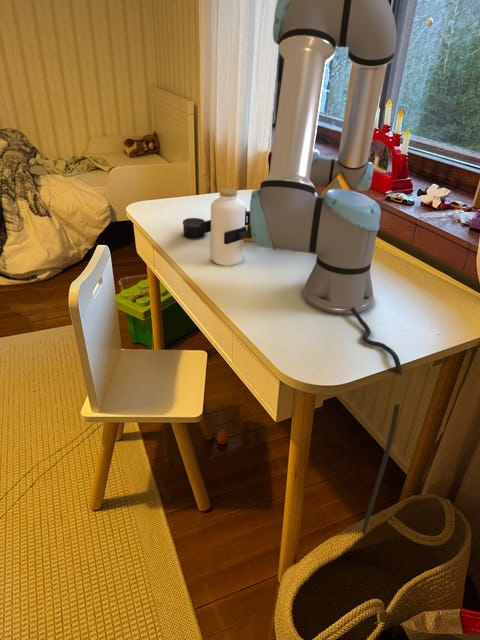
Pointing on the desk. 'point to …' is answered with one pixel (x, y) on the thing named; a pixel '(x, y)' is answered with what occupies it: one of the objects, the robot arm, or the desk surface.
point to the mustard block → (248, 238)
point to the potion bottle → (226, 227)
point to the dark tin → (193, 228)
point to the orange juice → (336, 185)
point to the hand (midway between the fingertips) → (213, 233)
